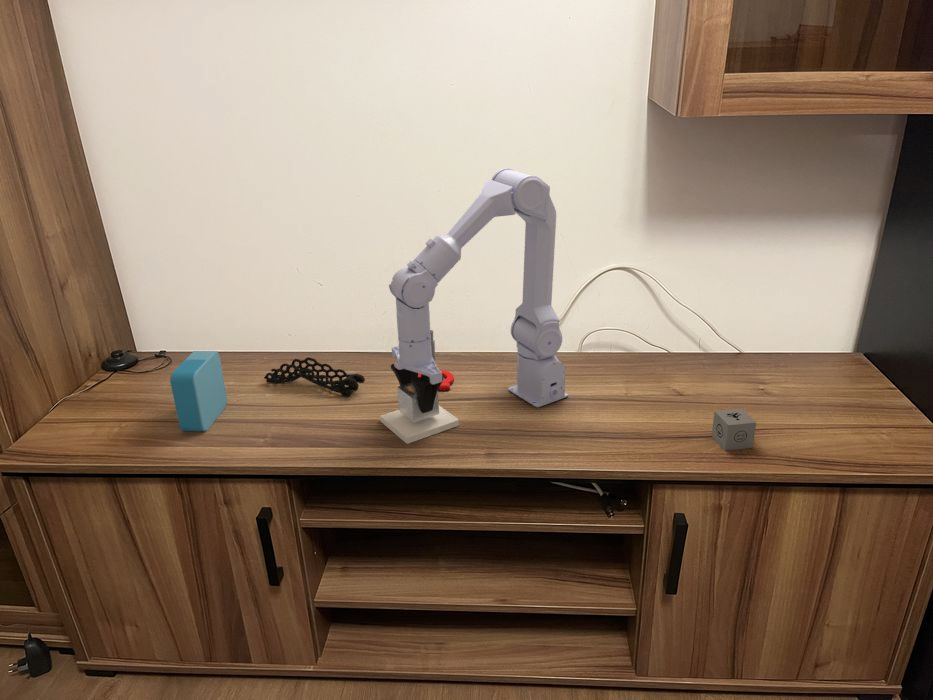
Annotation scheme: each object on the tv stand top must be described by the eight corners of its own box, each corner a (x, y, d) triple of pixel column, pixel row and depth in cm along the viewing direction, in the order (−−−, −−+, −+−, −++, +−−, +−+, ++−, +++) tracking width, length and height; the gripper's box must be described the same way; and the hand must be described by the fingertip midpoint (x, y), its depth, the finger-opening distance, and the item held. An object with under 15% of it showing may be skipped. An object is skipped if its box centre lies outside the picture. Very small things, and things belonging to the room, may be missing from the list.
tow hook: (414, 375, 153) (412, 392, 145) (411, 317, 149) (409, 332, 140) (453, 373, 153) (454, 391, 145) (452, 316, 149) (452, 331, 140)
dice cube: (738, 433, 127) (741, 408, 125) (752, 448, 123) (756, 422, 121) (711, 436, 127) (714, 411, 125) (724, 451, 122) (728, 425, 120)
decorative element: (262, 387, 149) (258, 361, 147) (275, 376, 154) (272, 351, 151) (359, 401, 142) (356, 375, 140) (370, 390, 147) (368, 364, 144)
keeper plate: (459, 425, 132) (458, 395, 130) (406, 444, 126) (404, 413, 124) (430, 404, 140) (429, 376, 137) (380, 421, 134) (378, 391, 132)
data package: (206, 403, 143) (195, 348, 138) (228, 403, 142) (218, 348, 137) (180, 434, 132) (168, 375, 127) (204, 434, 131) (193, 375, 126)
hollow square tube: (439, 414, 131) (438, 389, 129) (413, 422, 129) (411, 397, 127) (424, 402, 136) (422, 379, 134) (398, 411, 133) (397, 386, 131)
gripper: (375, 329, 130) (380, 396, 135) (415, 355, 118) (419, 427, 124) (409, 320, 133) (413, 386, 139) (451, 345, 122) (454, 415, 127)
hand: (418, 404), depth 131 cm, fingers closed on hollow square tube, 5 cm apart
